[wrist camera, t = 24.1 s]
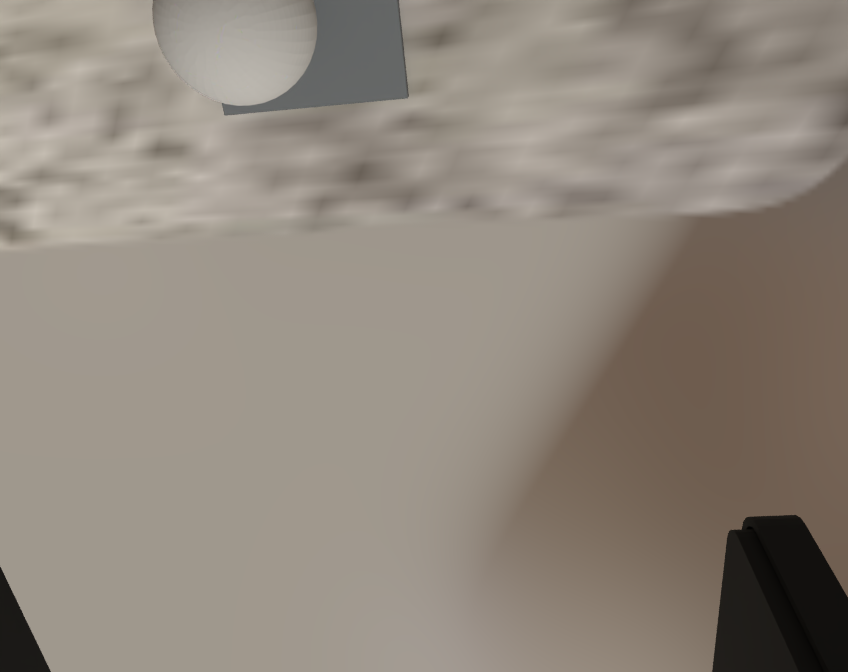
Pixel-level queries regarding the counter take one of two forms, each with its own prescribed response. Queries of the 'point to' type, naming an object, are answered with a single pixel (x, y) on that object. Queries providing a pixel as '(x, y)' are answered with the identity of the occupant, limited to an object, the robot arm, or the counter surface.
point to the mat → (347, 59)
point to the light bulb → (237, 45)
